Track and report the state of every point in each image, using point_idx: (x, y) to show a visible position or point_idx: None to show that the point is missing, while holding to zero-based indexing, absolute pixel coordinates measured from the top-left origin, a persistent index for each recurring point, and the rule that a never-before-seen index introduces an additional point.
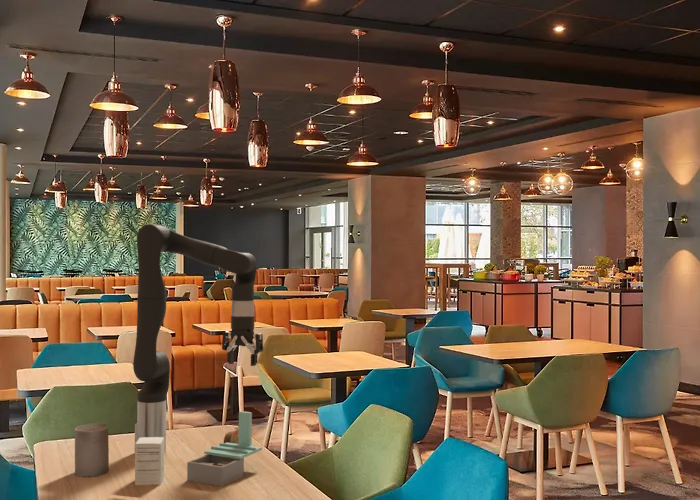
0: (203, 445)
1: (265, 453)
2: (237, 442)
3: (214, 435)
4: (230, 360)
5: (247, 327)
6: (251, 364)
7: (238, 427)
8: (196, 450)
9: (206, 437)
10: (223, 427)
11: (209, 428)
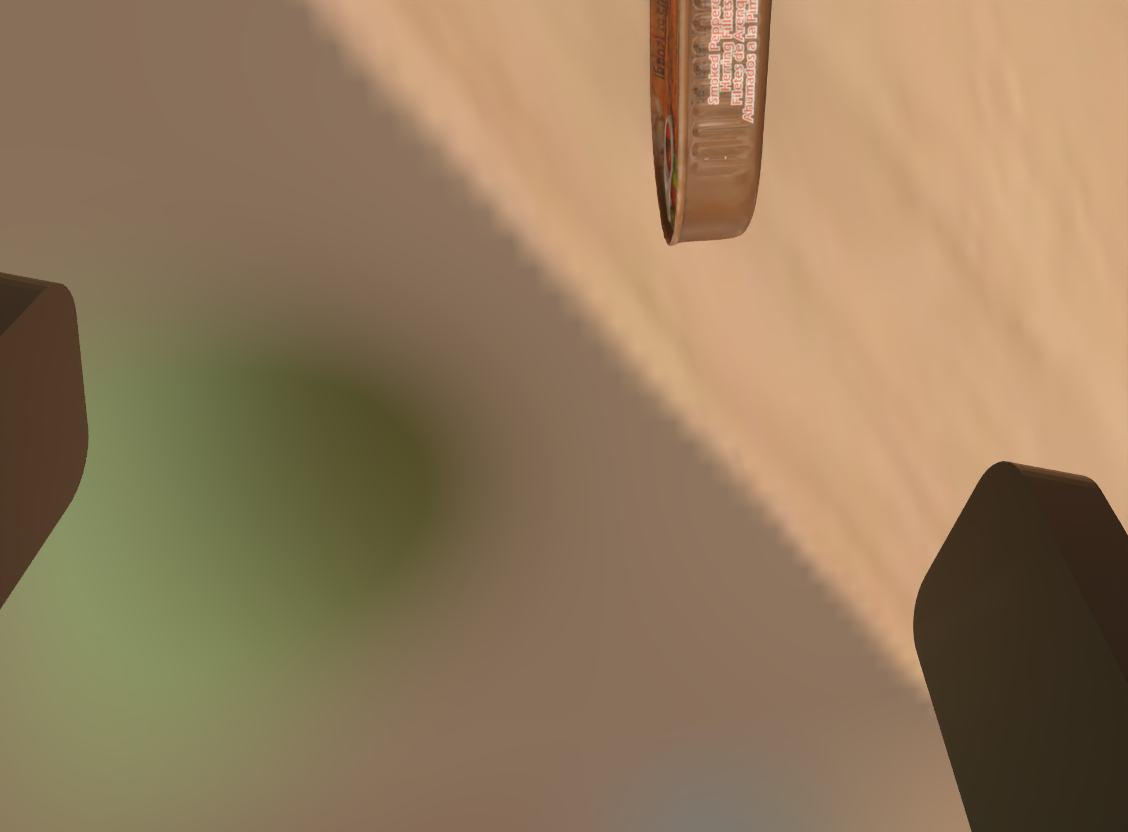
0: (1072, 213)
1: (443, 107)
2: (676, 19)
3: None
4: (1038, 544)
5: None
6: (1, 287)
7: (713, 175)
8: (1110, 34)
9: (1090, 435)
10: None
11: None
